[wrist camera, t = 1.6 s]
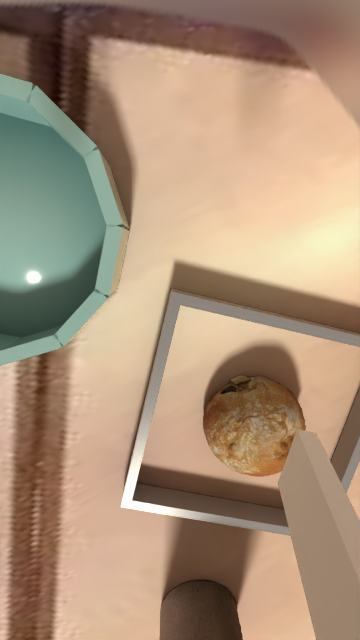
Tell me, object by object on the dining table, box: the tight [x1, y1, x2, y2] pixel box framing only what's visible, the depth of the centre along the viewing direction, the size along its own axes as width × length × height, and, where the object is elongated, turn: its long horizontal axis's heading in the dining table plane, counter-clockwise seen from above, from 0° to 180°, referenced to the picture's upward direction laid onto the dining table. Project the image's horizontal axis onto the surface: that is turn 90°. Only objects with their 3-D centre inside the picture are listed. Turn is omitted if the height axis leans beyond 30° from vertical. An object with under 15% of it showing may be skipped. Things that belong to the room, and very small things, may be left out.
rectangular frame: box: [121, 288, 360, 536], centre depth 32 cm, size 23×23×2 cm
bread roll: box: [203, 375, 306, 476], centre depth 31 cm, size 10×10×8 cm
